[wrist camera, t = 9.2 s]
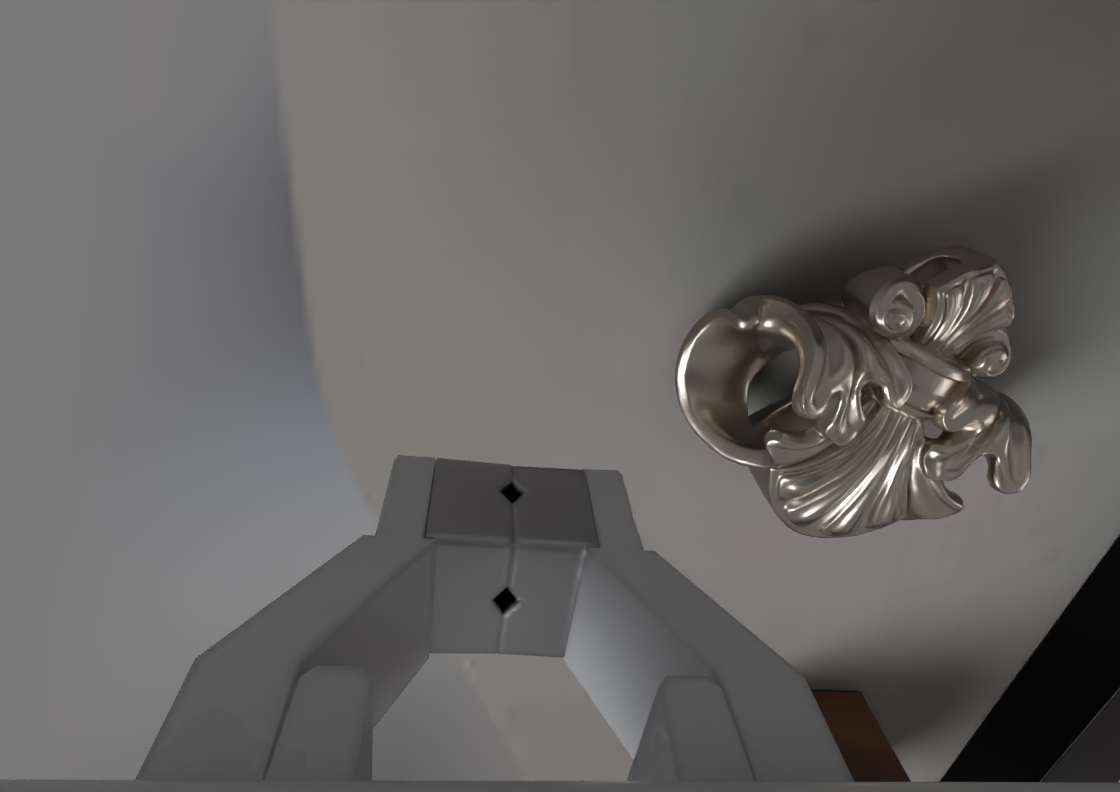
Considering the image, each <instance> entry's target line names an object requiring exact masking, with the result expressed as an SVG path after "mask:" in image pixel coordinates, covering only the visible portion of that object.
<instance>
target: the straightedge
mask: <svg viewBox="0 0 1120 792" xmlns="http://www.w3.org/2000/svg"><path fill="white" fill-rule="evenodd" d="M1119 780H1120V536H1119V537H1118V539H1117V540H1116V541H1115V543H1114V544H1113V545H1112V547H1111V548H1110V550H1109V551H1108V552H1107V554H1106V555H1105V556H1104V558H1103V559H1102V560H1101V562H1100V563H1099V565H1098V566H1097V567H1096V569H1095V570H1094V571H1093V573H1092V574H1091V576H1090V577H1089V578H1088V580H1087V581H1086V582H1085V584H1084V585H1083V587H1082V588H1081V589H1080V591H1079V592H1078V593H1077V595H1076V596H1075V598H1074V599H1073V600H1072V602H1071V603H1070V604H1069V606H1068V607H1067V608H1066V610H1065V611H1064V613H1063V614H1062V615H1061V617H1060V618H1059V619H1058V621H1057V622H1056V624H1055V625H1054V626H1053V628H1052V629H1051V630H1050V632H1049V633H1048V635H1047V636H1046V637H1045V639H1044V640H1043V641H1042V643H1041V644H1040V645H1039V647H1038V648H1037V650H1036V651H1035V652H1034V654H1033V655H1032V656H1031V658H1030V659H1029V661H1028V662H1027V663H1026V665H1025V666H1024V667H1023V669H1022V670H1021V672H1020V673H1019V674H1018V676H1017V677H1016V678H1015V680H1014V681H1013V683H1012V684H1011V685H1010V687H1009V688H1008V689H1007V691H1006V692H1005V693H1004V695H1003V696H1002V698H1001V699H1000V700H999V702H998V703H997V704H996V706H995V707H994V709H993V710H992V711H991V713H990V714H989V715H988V717H987V718H986V720H985V721H984V722H983V724H982V725H981V726H980V728H979V729H978V731H977V732H976V733H975V735H974V736H973V737H972V739H971V740H970V741H969V743H968V744H967V746H966V747H965V748H964V750H963V751H962V752H961V754H960V755H959V757H958V758H957V759H956V761H955V762H954V763H953V765H952V766H951V768H950V769H949V770H948V772H947V773H946V774H945V776H944V777H943V779H942V780H941V781H940V782H1118V781H1119Z"/></svg>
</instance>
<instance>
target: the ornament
mask: <svg viewBox="0 0 1120 792" xmlns="http://www.w3.org/2000/svg"><path fill="white" fill-rule="evenodd" d="M841 302H842V305H843V306H844V307H842V306H836V305H829V304H823V303H808V304H800V305H797V304H795V303H794V302H792V301H790V300H788V299H786V298H783V297H778V296H772V295H759V296H750V297H747V298H745V299H743V300H741V301H739V302H738V303H737V304H736V305H735V306H734V307H733V308H732V309H718V310H714V311H711V312H709V313H707V314H706V315H704V316H703V317H702V318H701V319H700V320H699V321H698V322H697V323H696V324H695V325H694V326H693V328H692V329H691V331H690V332H689V334H688V335H687V337H686V338H685V340H684V342H683V344H682V347H681V349H680V352H679V355H678V359H677V363H676V370H675V383H676V392H677V397H678V401H679V404H680V407H681V409H682V412H683V414H684V416H685V418H686V420H687V422H688V423H689V425H690V426H691V428H692V429H693V430H694V432H695V433H696V434H697V435H698V436H699V437H700V438H701V439H702V440H703V441H704V442H705V443H706V444H707V445H708V446H709V447H710V448H711V449H712V450H714V451H715V452H716V453H718V454H719V455H721V456H722V457H724V458H726V459H728V460H730V461H732V462H735V463H737V464H740V465H743V466H748V467H749V469H750V471H751V473H752V475H753V477H754V478H755V480H756V482H757V484H758V486H759V487H760V489H761V491H762V493H763V494H764V496H765V498H766V499H767V501H768V502H769V504H770V506H771V507H772V509H773V510H774V512H775V513H776V515H777V516H778V517H779V519H780V520H781V521H782V522H783V523H784V524H785V525H786V526H788V527H789V528H790V529H792V530H793V531H795V532H797V533H800V534H803V535H807V536H811V537H818V538H837V537H848V536H856V535H860V534H864V533H867V532H871V531H874V530H877V529H880V528H883V527H886V526H888V525H891V524H893V523H895V522H897V521H899V520H916V519H940V518H945V517H948V516H950V515H953V514H956V513H958V512H960V511H961V510H962V509H963V508H964V506H963V501H962V498H961V497H960V496H959V495H958V494H956V493H954V492H952V491H950V490H948V489H947V488H946V487H945V485H944V482H943V481H952V480H954V479H956V478H957V477H959V476H960V475H962V474H963V472H964V471H965V470H966V468H967V467H968V466H969V465H970V464H971V463H972V462H974V461H975V460H976V459H977V458H978V457H980V456H982V455H984V456H985V457H986V459H987V462H988V473H987V478H988V481H989V484H990V486H991V487H992V488H993V489H995V490H996V491H998V492H1001V493H1005V494H1014V493H1017V492H1020V491H1021V490H1022V489H1023V488H1024V487H1025V485H1026V484H1027V483H1028V481H1029V478H1030V474H1031V446H1032V437H1031V431H1030V427H1029V423H1028V420H1027V418H1026V416H1025V414H1024V412H1023V411H1022V409H1021V408H1020V407H1019V406H1018V405H1017V403H1016V402H1015V401H1014V400H1012V399H1011V398H1010V397H1008V396H1007V395H1005V394H1003V393H1000V392H995V391H994V389H993V388H992V387H990V386H989V385H988V384H986V383H984V382H981V381H977V380H975V379H974V377H977V378H981V379H986V378H993V377H997V376H999V375H1000V374H1001V373H1002V372H1003V371H1004V370H1005V369H1006V368H1007V367H1008V365H1009V363H1010V360H1011V356H1012V341H1011V336H1010V333H1009V329H1008V326H1009V325H1010V323H1011V322H1012V320H1013V318H1014V315H1015V308H1014V301H1013V294H1012V289H1011V285H1010V282H1009V279H1008V277H1007V275H1006V273H1005V271H1004V269H1003V267H1002V266H1001V265H1000V263H999V262H998V261H996V260H995V259H993V258H992V257H990V256H987V255H985V254H983V253H981V252H978V251H976V250H974V249H971V248H968V247H965V246H962V245H952V246H946V247H941V248H937V249H934V250H931V251H927V252H925V253H922V254H920V255H918V256H916V257H913V258H912V259H910V260H908V261H907V262H905V263H903V264H902V265H901V266H899V267H898V269H897V268H895V267H879V268H875V269H871V270H868V271H865V272H863V273H860V274H858V275H857V276H855V277H853V278H852V279H851V280H849V281H848V282H847V284H846V285H845V286H844V288H843V291H842V294H841ZM791 349H796V351H797V354H798V357H799V373H798V377H797V380H796V383H795V386H794V390H793V394H791V395H789V396H787V397H785V398H783V399H781V400H779V401H777V402H775V403H773V404H770V405H768V406H766V407H764V408H762V409H760V410H758V411H756V412H754V413H753V414H751V415H749V416H748V412H747V400H748V394H749V388H750V384H751V381H752V379H753V377H754V376H755V375H756V373H757V372H758V371H759V370H760V369H761V368H762V367H763V366H764V365H765V364H766V363H767V362H768V361H770V360H771V359H772V358H773V357H775V356H777V355H779V354H781V353H783V352H785V351H788V350H791Z"/></svg>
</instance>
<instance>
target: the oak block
mask: <svg viewBox="0 0 1120 792" xmlns="http://www.w3.org/2000/svg"><path fill="white" fill-rule="evenodd" d="M811 692H812V694H813V696H814V698H815V700H816V702H817V704H818V706H819V708H820V710H821V713H822V715H823V717H824V719H825V721H826V723H827V725H828V727H829V729H830V731H831V734H832V736H833V738H834V740H835V742H836V744H837V746H838V748H839V750H840V752H841V754H842V757H843V759H844V761H845V763H846V765H847V767H848V769H849V771H850V773H851V775H852V778H853V780H854V782H911V781H910V779H909V777H908V776H907V774H906V772H905V770H904V768H903V767H902V765H901V763H900V761H899V759H898V758H897V756H896V754H895V752H894V751H893V749H892V747H891V745H890V743H889V742H888V740H887V738H886V736H885V734H884V733H883V731H882V729H881V727H880V725H879V724H878V722H877V720H876V718H875V717H874V715H873V713H872V711H871V709H870V708H869V706H868V704H867V702H866V700H865V699H864V697H863V695H862V693H861V692H840V691H811Z"/></svg>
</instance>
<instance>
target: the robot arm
mask: <svg viewBox="0 0 1120 792" xmlns="http://www.w3.org/2000/svg"><path fill="white" fill-rule="evenodd" d="M497 652H498V654H515V655H532V656H549V657H564V662H565V663H566V665H567V666H568V668H569V669H570V670H571V672H572V673H573V675H574V676H575V678H576V679H577V680H578V682H579V683H580V685H581V686H582V688H583V689H584V690H585V692H586V693H587V695H588V696H589V698H590V699H591V700H592V702H593V703H594V705H595V706H596V708H597V709H598V710H599V712H600V713H601V715H602V716H603V718H604V719H605V720H606V722H607V723H608V725H609V726H610V728H611V729H612V730H613V732H614V733H615V735H616V736H617V738H618V739H619V740H620V742H621V743H622V745H623V746H624V748H625V749H626V750H627V752H628V753H629V755H630V756H631V758H632V759H633V760H634V761H633V764H632V767H631V770H630V773H629V776H628V779H627V781H372V735H373V728H374V727H375V726H376V725H377V723H378V722H379V721H380V719H381V718H382V717H383V716H384V714H385V713H386V712H387V710H388V709H389V708H390V707H391V705H392V704H393V703H394V701H395V700H396V699H397V698H398V696H399V695H400V694H401V692H402V691H403V690H404V689H405V687H406V686H407V685H408V683H409V682H410V681H411V680H412V678H413V677H414V676H415V675H416V673H417V672H418V671H419V670H420V668H421V667H422V666H423V664H424V663H425V662H426V661H427V659H428V658H429V653H497ZM0 792H1120V782H854V780H853V778H852V775H851V773H850V771H849V769H848V767H847V765H846V763H845V761H844V759H843V757H842V754H841V752H840V750H839V748H838V746H837V744H836V742H835V740H834V738H833V736H832V734H831V731H830V729H829V727H828V725H827V723H826V721H825V719H824V717H823V715H822V713H821V710H820V708H819V706H818V704H817V702H816V700H815V698H814V696H813V694H812V692H811V690H810V687H809V685H808V683H807V681H806V679H805V677H804V676H803V675H802V674H801V673H800V672H798V671H797V670H796V669H795V668H794V667H792V666H791V665H790V664H789V663H788V662H786V661H785V660H784V659H783V658H782V657H780V656H779V655H778V654H777V653H776V652H774V651H773V650H772V649H771V648H770V647H768V646H767V645H766V644H765V643H764V642H763V641H761V640H760V639H759V638H758V637H757V636H755V635H754V634H753V633H752V632H751V631H749V630H748V629H747V628H746V627H745V626H743V625H742V624H741V623H740V622H739V621H737V620H736V619H735V618H734V617H733V616H731V615H730V614H729V613H728V612H727V611H726V610H724V609H723V608H722V607H721V606H720V605H718V604H717V603H716V602H715V601H714V600H712V599H711V598H710V597H709V596H708V595H706V594H705V593H704V592H703V591H702V590H700V589H699V588H698V587H697V586H696V585H694V584H693V583H692V582H691V581H690V580H689V579H687V578H686V577H685V576H684V575H683V574H681V573H680V572H679V571H678V570H677V569H675V568H674V567H673V566H672V565H671V564H669V563H668V562H667V561H666V560H665V559H663V558H662V557H661V556H660V555H659V554H657V553H656V552H655V551H645V550H644V549H643V546H642V542H641V539H640V535H639V532H638V529H637V525H636V522H635V518H634V515H633V511H632V508H631V504H630V501H629V498H628V494H627V491H626V487H625V484H624V480H623V477H622V474H621V473H620V472H619V471H617V470H592V469H582V470H576V469H558V468H540V467H523V466H511V465H506V464H496V463H485V462H474V461H463V460H452V459H442V458H437V460H435V458H431V457H417V456H403V455H398V456H397V457H396V459H395V460H394V463H393V467H392V471H391V475H390V479H389V483H388V487H387V491H386V495H385V499H384V503H383V507H382V511H381V515H380V519H379V523H378V527H377V531H376V535H375V536H370V535H363V536H362V537H360V538H359V539H357V540H356V541H355V542H353V543H352V544H351V545H349V546H348V547H347V548H345V549H344V550H342V551H341V552H340V553H338V554H337V555H336V556H334V557H333V558H331V559H330V560H329V561H328V562H326V563H325V564H323V565H322V566H321V567H319V568H318V569H317V570H315V571H314V572H312V573H311V574H310V575H309V576H307V577H306V578H304V579H303V580H302V581H300V582H299V583H298V584H296V585H295V586H293V587H292V588H291V589H290V590H288V591H287V592H285V593H284V594H282V595H281V596H280V597H278V598H277V599H276V600H274V601H273V602H272V603H270V604H269V605H268V606H266V607H265V608H263V609H262V610H261V611H259V612H258V613H257V614H255V615H254V616H253V617H251V618H250V619H248V620H247V621H246V622H244V623H243V624H242V625H240V626H239V627H238V628H236V629H235V630H234V631H232V632H231V633H229V634H228V635H227V636H225V637H224V638H223V639H222V640H220V641H219V642H217V643H216V644H215V645H213V646H212V647H211V648H209V649H208V650H206V651H205V652H204V653H202V654H201V655H199V656H198V657H197V658H196V659H195V661H194V662H193V664H192V666H191V668H190V671H189V672H188V674H187V676H186V679H185V681H184V683H183V685H182V687H181V689H180V691H179V693H178V695H177V697H176V699H175V701H174V703H173V705H172V707H171V709H170V711H169V713H168V715H167V717H166V719H165V721H164V723H163V725H162V727H161V729H160V731H159V733H158V735H157V737H156V739H155V741H154V743H153V745H152V747H151V749H150V751H149V753H148V755H147V757H146V759H145V761H144V763H143V765H142V767H141V769H140V771H139V773H138V775H137V777H136V779H135V780H0Z"/></svg>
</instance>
